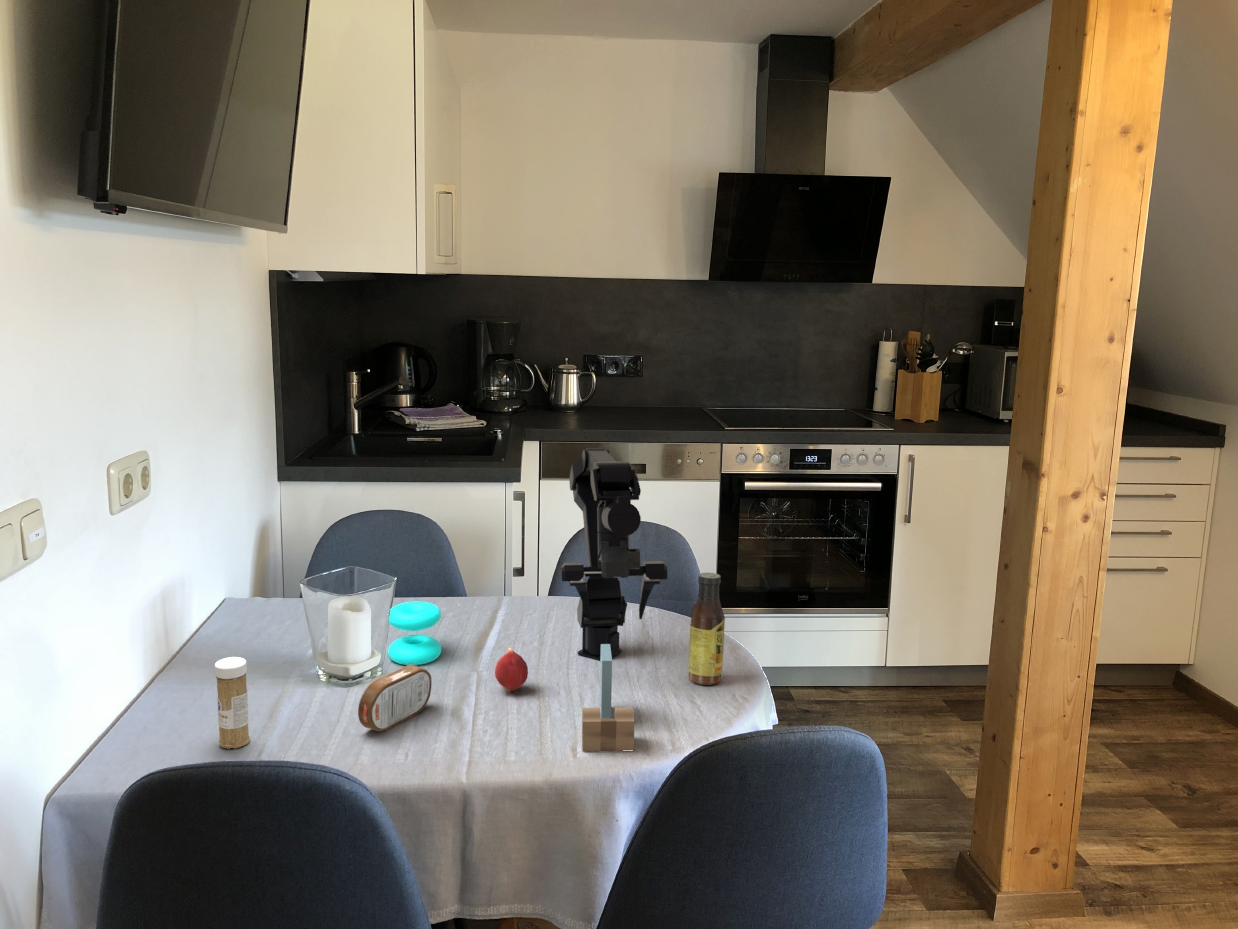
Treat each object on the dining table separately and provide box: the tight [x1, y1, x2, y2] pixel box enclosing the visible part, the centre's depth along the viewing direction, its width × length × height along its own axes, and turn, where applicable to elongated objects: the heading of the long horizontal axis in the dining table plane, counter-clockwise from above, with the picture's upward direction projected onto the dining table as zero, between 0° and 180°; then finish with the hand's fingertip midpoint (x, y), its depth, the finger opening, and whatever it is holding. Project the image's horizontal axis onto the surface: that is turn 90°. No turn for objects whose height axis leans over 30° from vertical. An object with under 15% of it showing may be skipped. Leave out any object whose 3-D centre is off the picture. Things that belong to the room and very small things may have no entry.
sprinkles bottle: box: [214, 656, 251, 750], centre depth 152 cm, size 5×5×13 cm
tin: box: [357, 664, 433, 732], centre depth 162 cm, size 15×3×8 cm, turn 149°
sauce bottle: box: [687, 572, 726, 686], centre depth 180 cm, size 6×6×20 cm
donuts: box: [387, 601, 442, 666], centre depth 189 cm, size 10×10×10 cm
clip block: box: [581, 707, 635, 752], centre depth 155 cm, size 5×8×5 cm, turn 93°
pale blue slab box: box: [599, 644, 613, 719], centre depth 165 cm, size 8×2×11 cm, turn 3°
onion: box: [494, 647, 529, 692], centre depth 174 cm, size 6×6×8 cm
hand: (614, 619), depth 177 cm, fingers open, 9 cm apart
